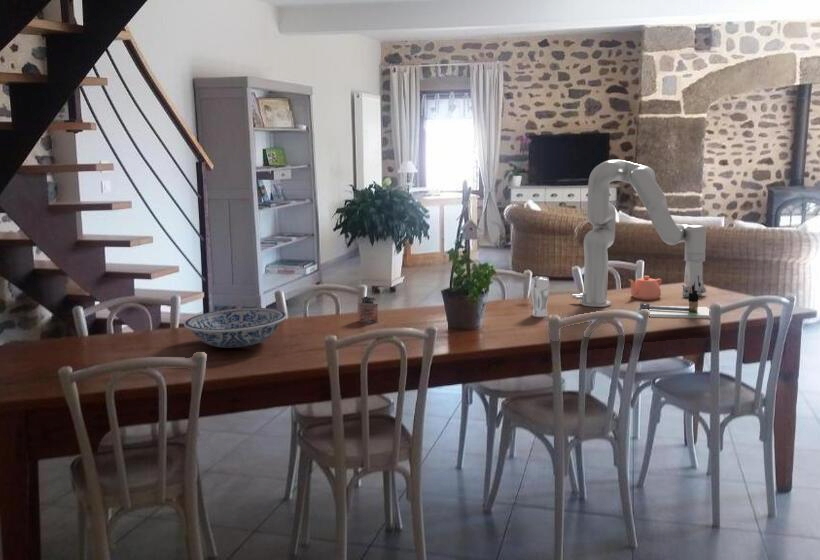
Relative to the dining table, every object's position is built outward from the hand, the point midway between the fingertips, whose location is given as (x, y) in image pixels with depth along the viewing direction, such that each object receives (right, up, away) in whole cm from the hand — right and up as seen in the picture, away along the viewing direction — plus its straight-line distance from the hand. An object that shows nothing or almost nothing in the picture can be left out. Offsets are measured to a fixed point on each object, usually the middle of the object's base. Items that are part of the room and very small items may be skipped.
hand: (693, 303), depth 295 cm
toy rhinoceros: (+12, +2, +33) cm, 36 cm away
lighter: (-127, -7, -5) cm, 127 cm away
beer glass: (-60, -5, +1) cm, 60 cm away
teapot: (-9, +1, +32) cm, 33 cm away
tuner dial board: (-6, -4, +2) cm, 8 cm away
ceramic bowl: (-170, -13, -36) cm, 175 cm away
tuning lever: (-10, -3, 0) cm, 10 cm away
